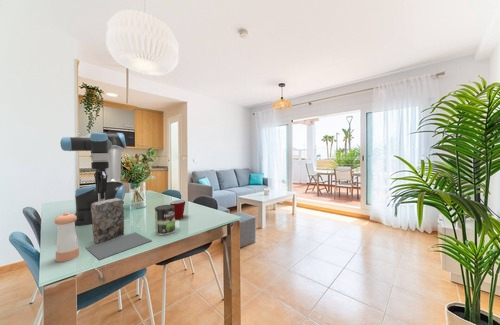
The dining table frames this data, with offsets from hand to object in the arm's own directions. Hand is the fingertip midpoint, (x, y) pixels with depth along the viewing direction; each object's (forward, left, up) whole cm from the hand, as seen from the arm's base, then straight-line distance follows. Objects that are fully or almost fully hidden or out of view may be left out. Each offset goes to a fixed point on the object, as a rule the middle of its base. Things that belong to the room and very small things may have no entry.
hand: (101, 204), depth 108 cm
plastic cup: (+10, +40, -17) cm, 45 cm away
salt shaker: (+17, -18, -17) cm, 30 cm away
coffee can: (+25, +22, -17) cm, 37 cm away
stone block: (+9, 0, -17) cm, 19 cm away
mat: (+22, 0, -17) cm, 27 cm away
